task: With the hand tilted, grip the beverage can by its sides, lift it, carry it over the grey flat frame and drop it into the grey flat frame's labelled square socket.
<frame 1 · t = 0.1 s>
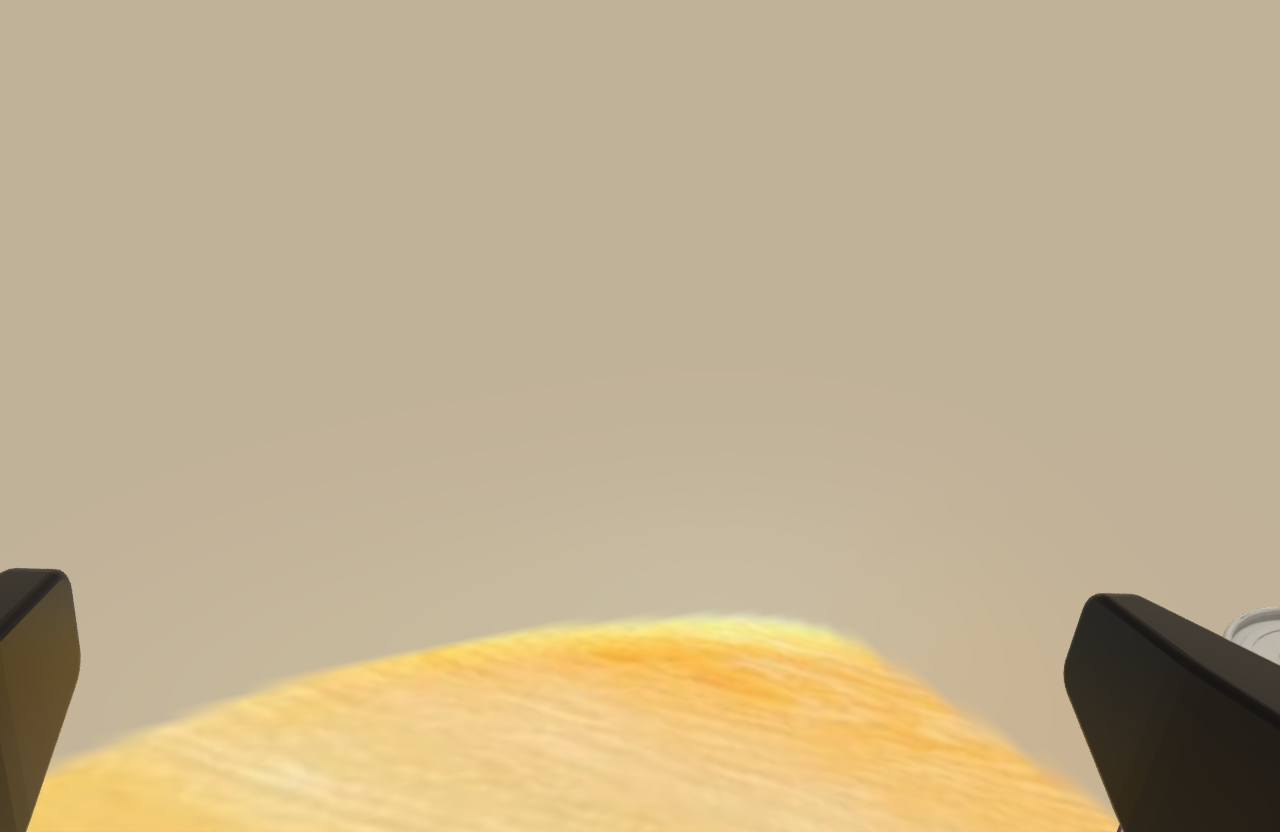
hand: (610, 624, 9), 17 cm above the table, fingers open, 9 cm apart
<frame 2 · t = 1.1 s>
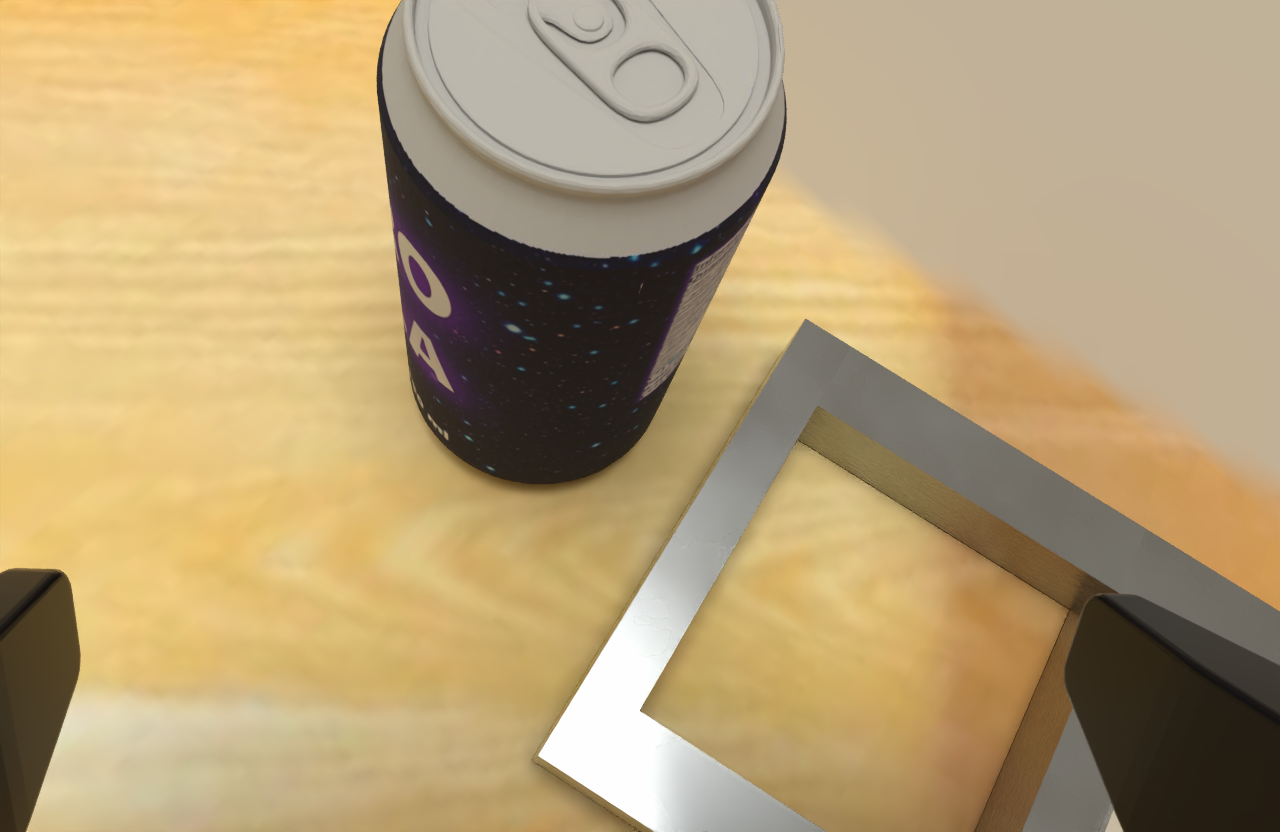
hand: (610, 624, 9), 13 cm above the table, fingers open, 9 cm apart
beverage can: (535, 380, 25), on the table
grey flat frame: (858, 661, 23), on the table
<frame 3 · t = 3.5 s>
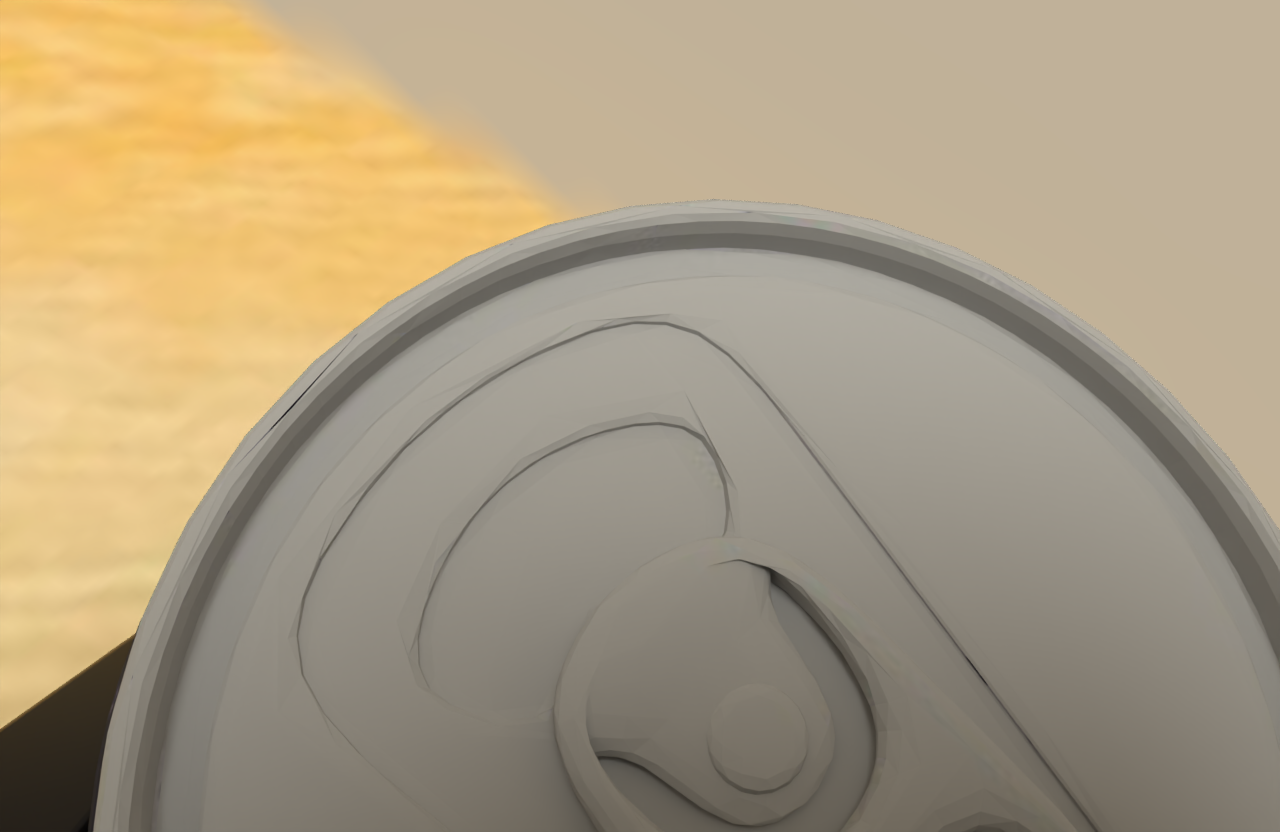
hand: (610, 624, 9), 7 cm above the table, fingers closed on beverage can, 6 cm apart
beverage can: (547, 795, 15), on the table, touching gripper
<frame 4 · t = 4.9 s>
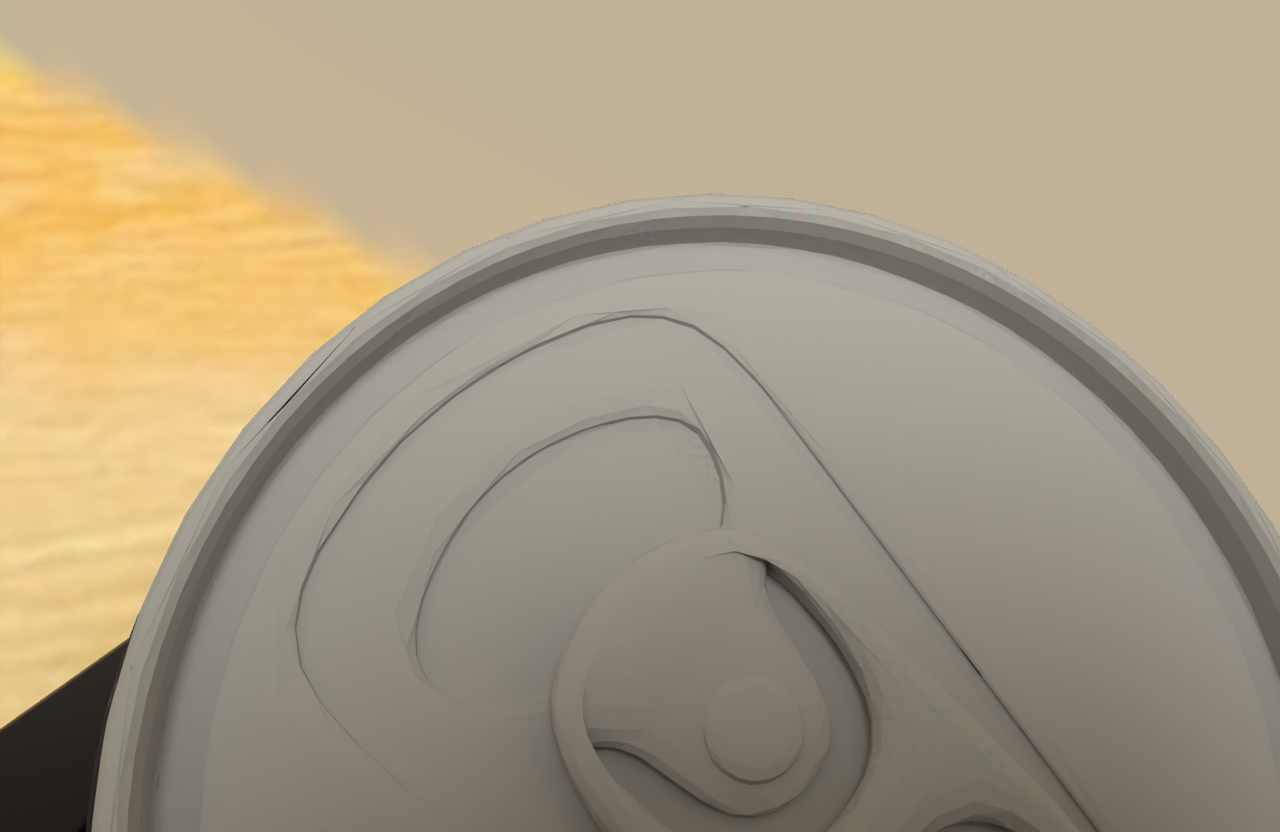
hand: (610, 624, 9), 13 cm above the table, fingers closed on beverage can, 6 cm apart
beverage can: (543, 791, 15), point 6 cm above the table, touching gripper
when the fingers open (9 cm above the table, at t = 6.8 s): beverage can drops 2 cm, resting in grey flat frame.
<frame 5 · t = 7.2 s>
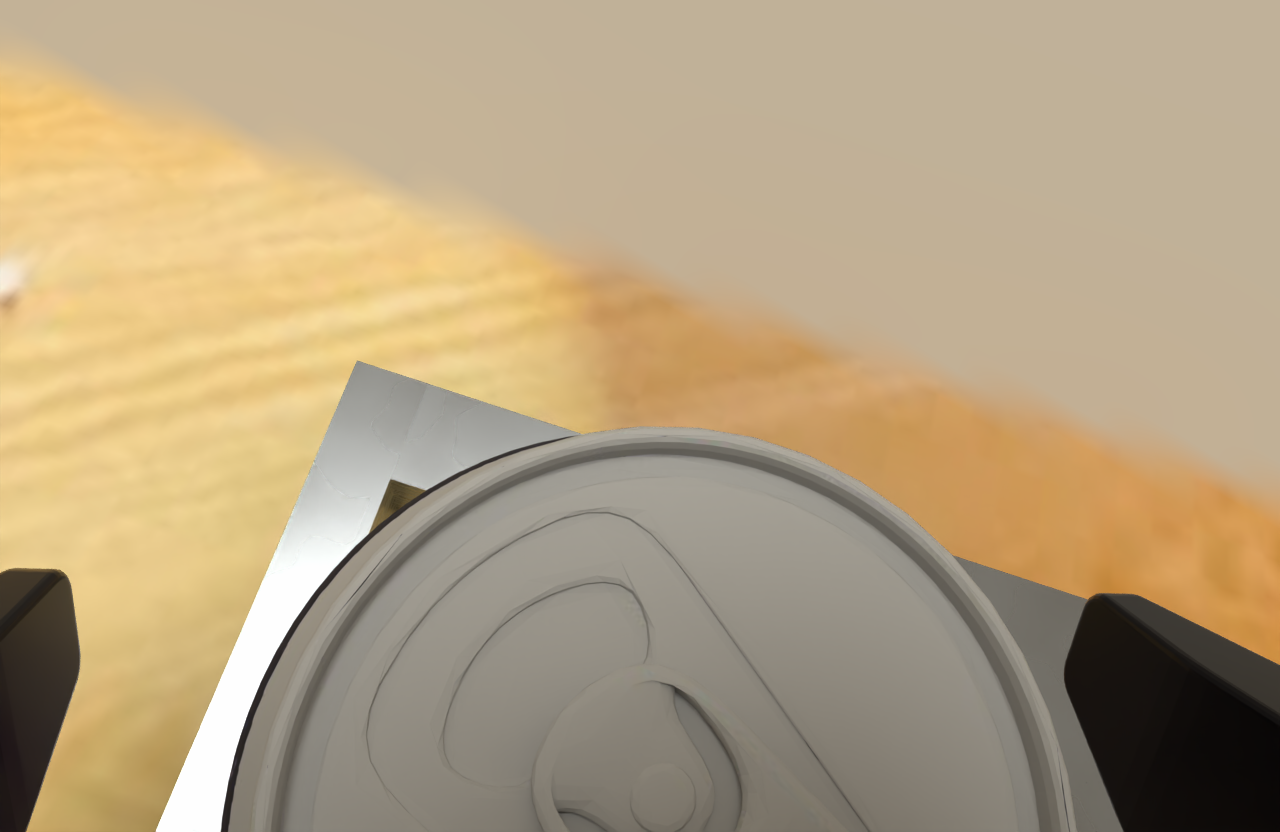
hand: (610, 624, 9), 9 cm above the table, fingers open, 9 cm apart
beverage can: (539, 810, 17), resting in grey flat frame
grey flat frame: (537, 797, 17), on the table
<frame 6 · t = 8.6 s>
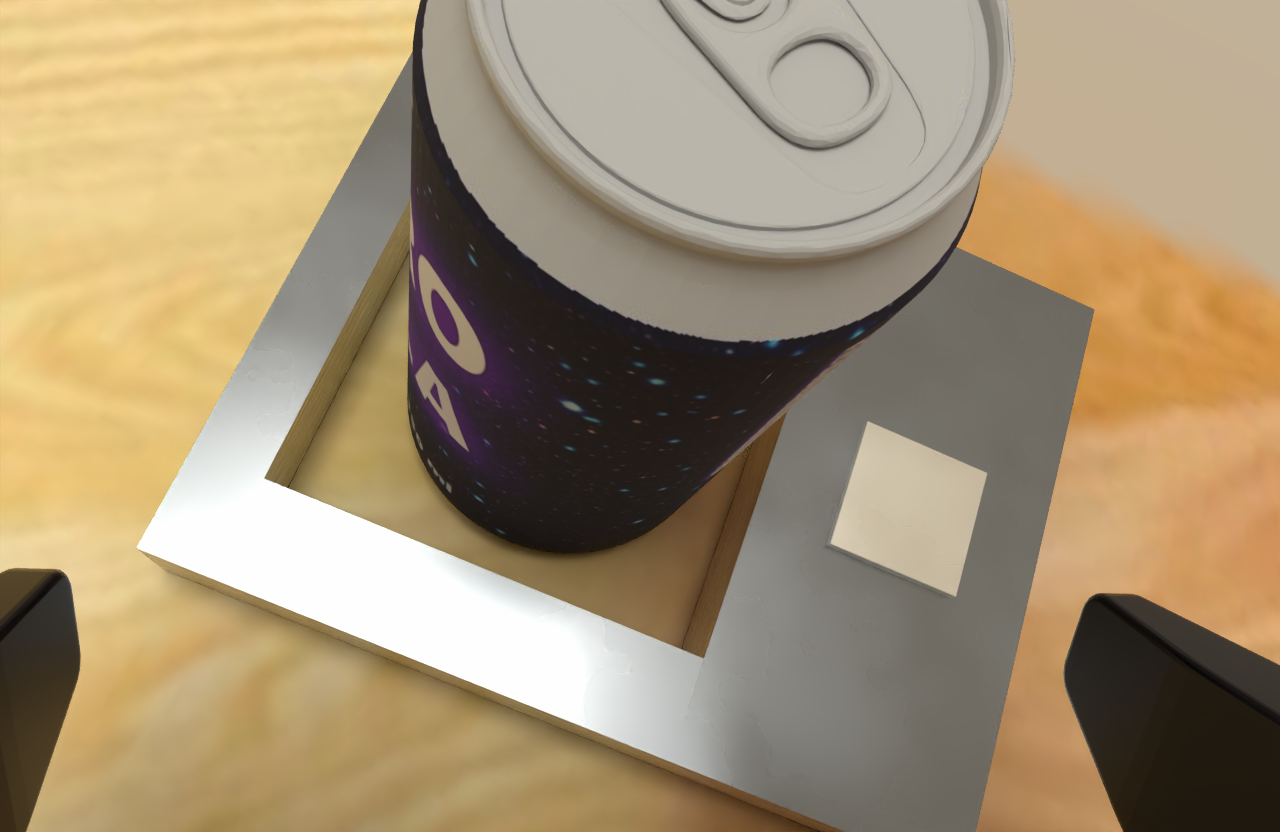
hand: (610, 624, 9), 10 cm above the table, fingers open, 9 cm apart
beverage can: (558, 416, 20), resting in grey flat frame
grey flat frame: (558, 403, 20), on the table
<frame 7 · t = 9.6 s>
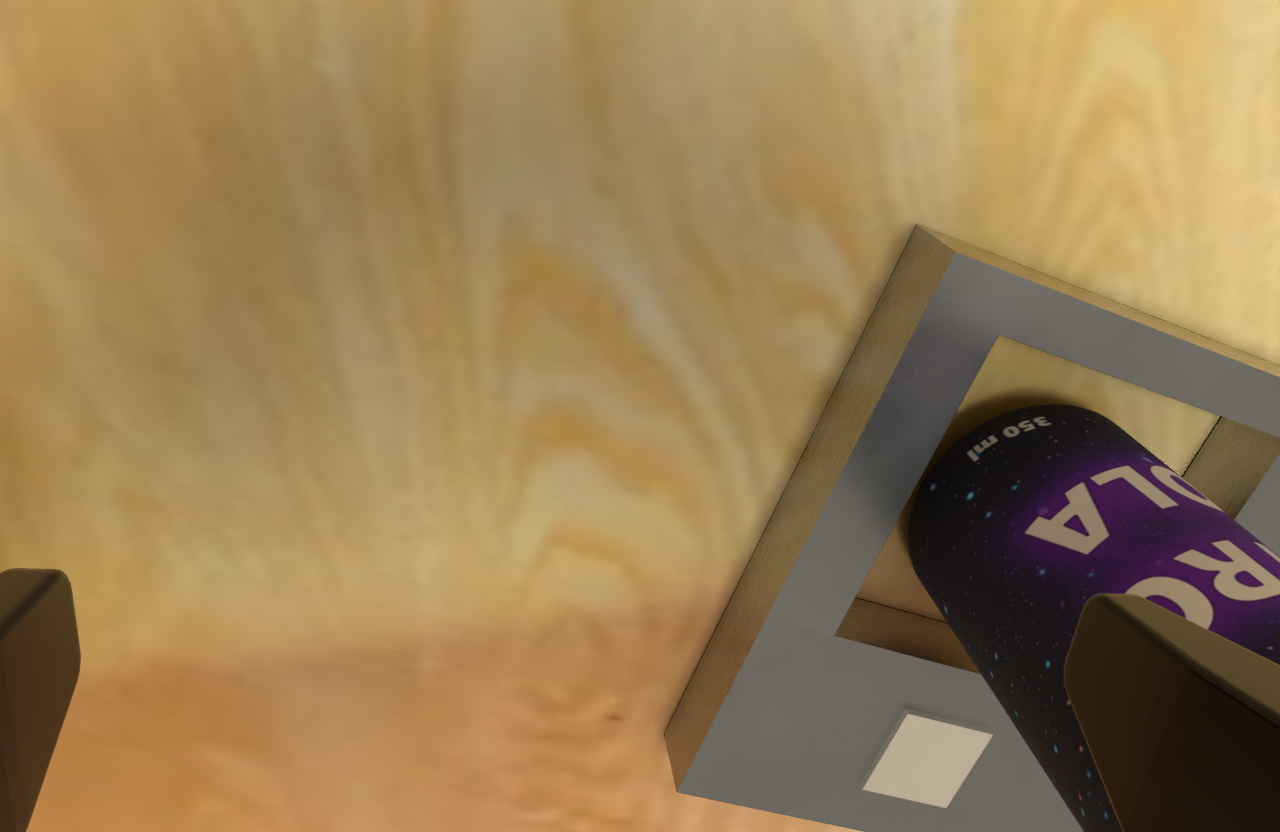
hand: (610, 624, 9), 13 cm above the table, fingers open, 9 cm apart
beverage can: (1005, 492, 25), resting in grey flat frame
grey flat frame: (1017, 495, 25), on the table
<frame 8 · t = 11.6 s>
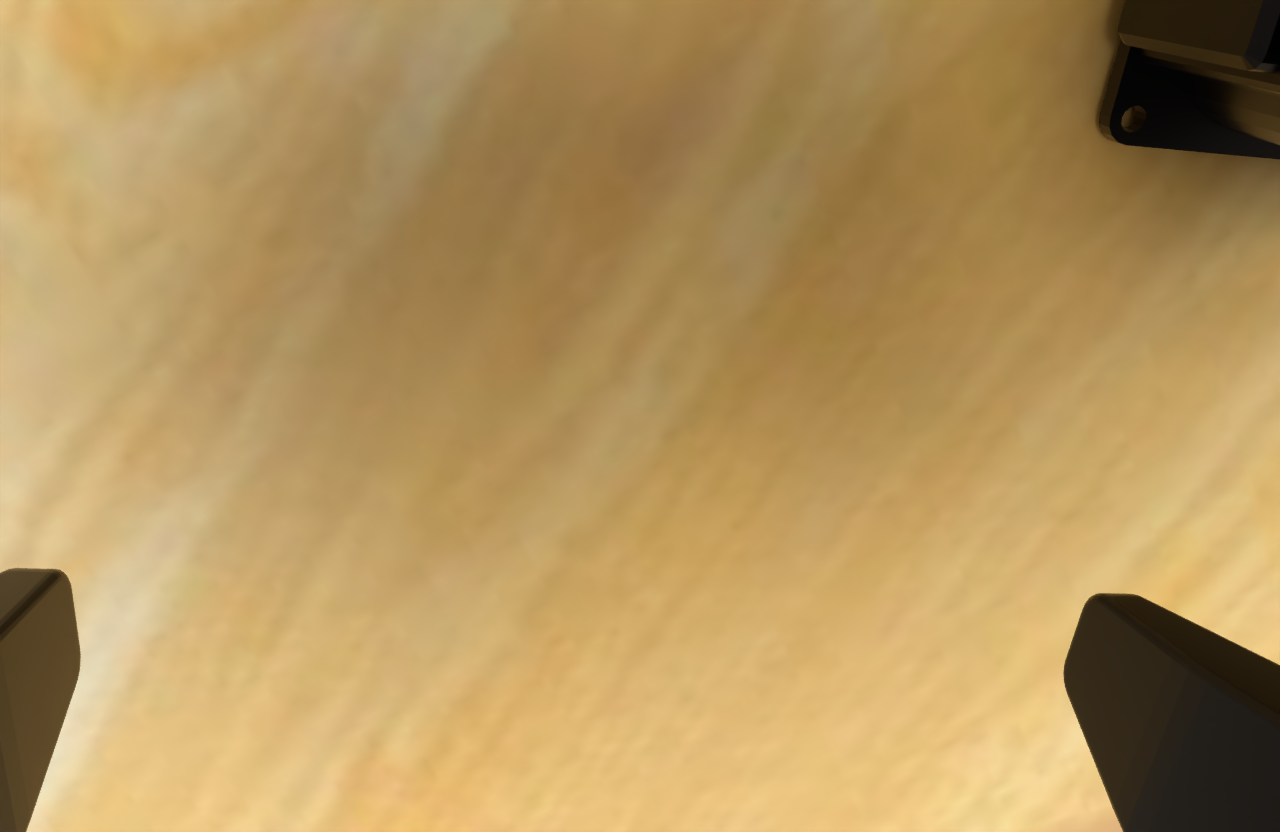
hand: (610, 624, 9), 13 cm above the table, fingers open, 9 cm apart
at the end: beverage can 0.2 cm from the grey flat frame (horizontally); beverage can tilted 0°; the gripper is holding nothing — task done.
